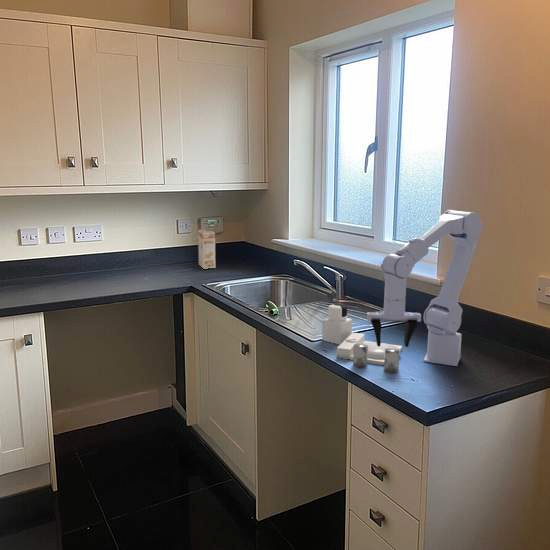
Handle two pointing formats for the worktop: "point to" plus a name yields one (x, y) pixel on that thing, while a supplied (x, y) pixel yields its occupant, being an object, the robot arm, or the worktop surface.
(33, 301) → the worktop surface
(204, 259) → the coffeecake box
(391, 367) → the cylinder
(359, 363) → the cylinder
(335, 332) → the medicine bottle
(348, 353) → the scale
